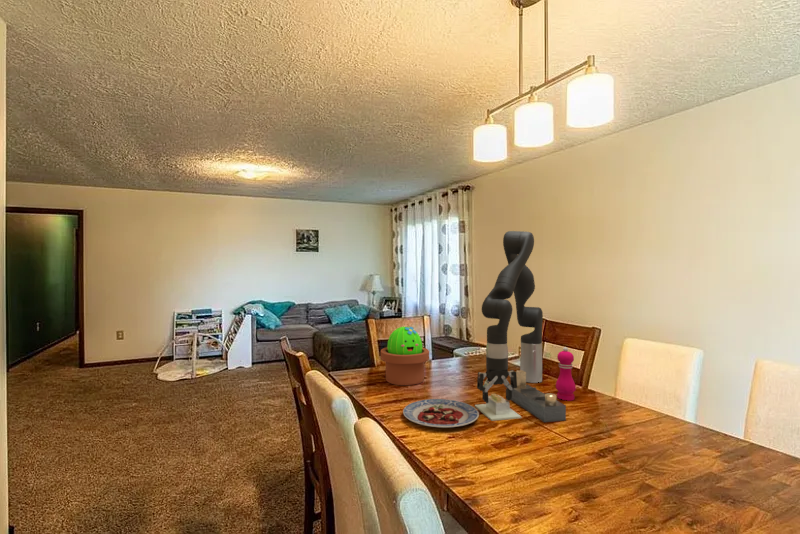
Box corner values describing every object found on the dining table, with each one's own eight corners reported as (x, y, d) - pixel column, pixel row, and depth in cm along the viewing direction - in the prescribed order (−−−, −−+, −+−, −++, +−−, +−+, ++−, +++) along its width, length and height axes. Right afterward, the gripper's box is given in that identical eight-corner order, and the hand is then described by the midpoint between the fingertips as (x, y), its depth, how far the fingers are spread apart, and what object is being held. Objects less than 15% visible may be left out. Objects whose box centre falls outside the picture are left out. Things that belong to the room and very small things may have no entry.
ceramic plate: (478, 436, 120) (478, 426, 120) (396, 429, 125) (396, 420, 125) (478, 407, 146) (478, 399, 146) (410, 402, 151) (410, 394, 151)
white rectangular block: (486, 407, 143) (486, 393, 143) (498, 405, 144) (498, 392, 144) (496, 415, 135) (496, 401, 136) (509, 413, 137) (509, 399, 137)
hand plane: (509, 398, 154) (509, 370, 154) (527, 397, 156) (527, 369, 156) (544, 422, 131) (544, 389, 131) (565, 420, 132) (565, 387, 132)
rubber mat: (474, 406, 146) (474, 404, 146) (502, 404, 148) (502, 402, 148) (491, 420, 132) (491, 419, 132) (521, 418, 134) (521, 416, 134)
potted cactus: (375, 375, 187) (375, 323, 187) (419, 372, 194) (419, 321, 194) (388, 389, 166) (388, 330, 166) (436, 384, 173) (436, 327, 173)
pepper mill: (572, 395, 158) (572, 345, 158) (578, 401, 151) (578, 349, 151) (553, 394, 159) (553, 345, 159) (558, 400, 152) (558, 348, 152)
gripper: (510, 352, 145) (510, 396, 145) (474, 354, 142) (474, 399, 142) (520, 356, 138) (520, 403, 138) (482, 358, 135) (482, 406, 135)
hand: (497, 401), depth 140 cm, fingers open, 8 cm apart
